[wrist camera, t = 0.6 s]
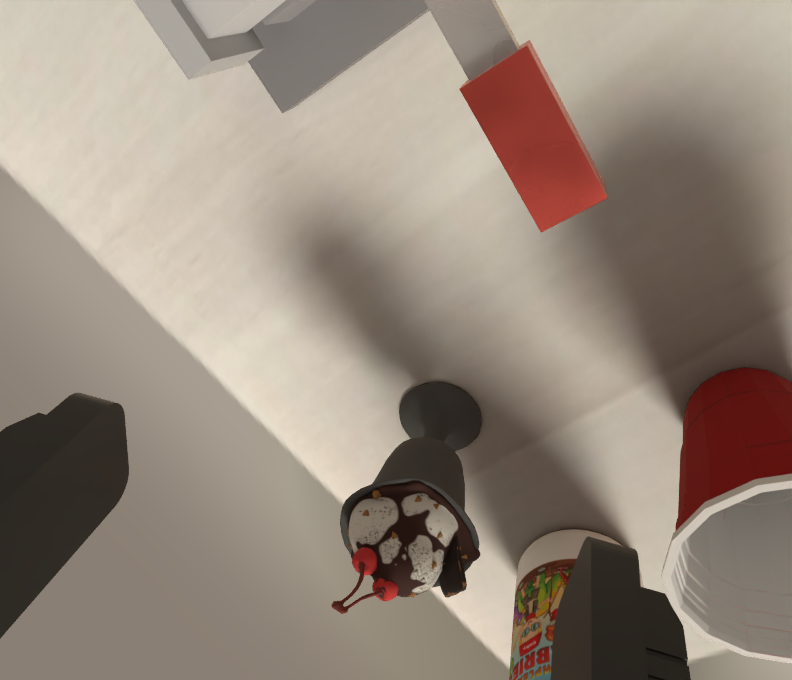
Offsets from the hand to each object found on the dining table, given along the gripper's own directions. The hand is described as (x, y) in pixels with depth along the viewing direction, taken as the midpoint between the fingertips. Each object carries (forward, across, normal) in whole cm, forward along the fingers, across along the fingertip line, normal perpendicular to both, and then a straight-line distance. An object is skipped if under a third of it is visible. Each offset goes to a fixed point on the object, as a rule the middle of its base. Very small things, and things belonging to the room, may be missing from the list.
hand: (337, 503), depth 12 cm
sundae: (+25, 0, +16) cm, 30 cm away
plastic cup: (+26, -16, +11) cm, 32 cm away
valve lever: (+15, +2, -7) cm, 16 cm away
